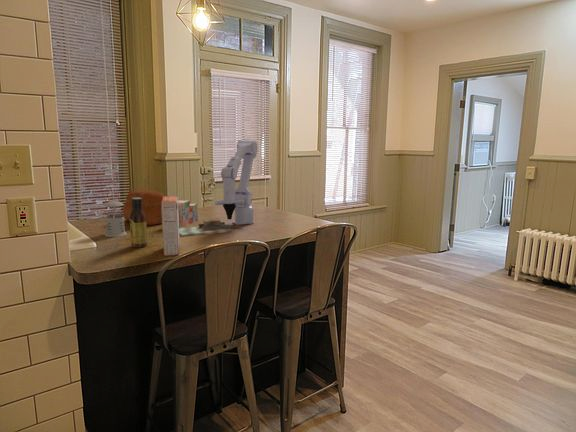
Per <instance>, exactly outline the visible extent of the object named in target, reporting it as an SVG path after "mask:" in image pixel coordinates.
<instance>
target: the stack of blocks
mask: <svg viewBox="0 0 576 432" xmlns="http://www.w3.org/2000/svg"><path fill="white" fill-rule="evenodd" d="M178 213H179V228H185V227H186V226H188V225H191V224H193V223H195V222H197V221H198V219H199V217H198V215H199V214H198V213H199V212H198V203H191V201H190V200H181V199H179V200H178Z"/></svg>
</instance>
